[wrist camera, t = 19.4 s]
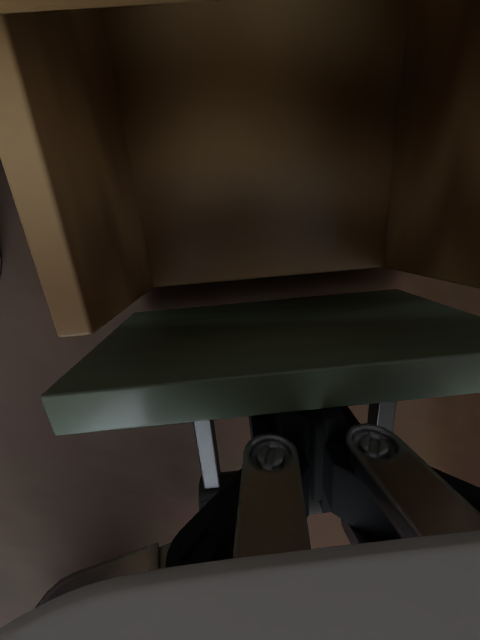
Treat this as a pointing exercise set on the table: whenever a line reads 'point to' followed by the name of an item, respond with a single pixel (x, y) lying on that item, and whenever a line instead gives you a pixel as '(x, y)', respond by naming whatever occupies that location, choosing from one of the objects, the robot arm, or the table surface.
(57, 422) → the drawer
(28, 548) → the table surface
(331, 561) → the robot arm
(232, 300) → the table surface
